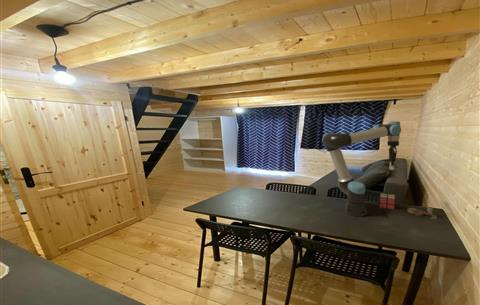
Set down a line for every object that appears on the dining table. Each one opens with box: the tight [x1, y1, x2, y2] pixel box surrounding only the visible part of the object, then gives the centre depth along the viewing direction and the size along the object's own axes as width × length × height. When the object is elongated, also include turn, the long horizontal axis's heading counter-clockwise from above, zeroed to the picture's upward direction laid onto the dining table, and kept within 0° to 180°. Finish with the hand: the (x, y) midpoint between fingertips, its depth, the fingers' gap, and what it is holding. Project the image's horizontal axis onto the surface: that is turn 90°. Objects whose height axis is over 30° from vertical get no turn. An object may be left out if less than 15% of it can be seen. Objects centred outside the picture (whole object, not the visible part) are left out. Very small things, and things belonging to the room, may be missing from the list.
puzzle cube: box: [378, 192, 396, 210], centre depth 168 cm, size 10×10×10 cm
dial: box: [406, 206, 434, 217], centre depth 152 cm, size 14×9×6 cm, turn 50°
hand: (391, 169), depth 170 cm, fingers closed
